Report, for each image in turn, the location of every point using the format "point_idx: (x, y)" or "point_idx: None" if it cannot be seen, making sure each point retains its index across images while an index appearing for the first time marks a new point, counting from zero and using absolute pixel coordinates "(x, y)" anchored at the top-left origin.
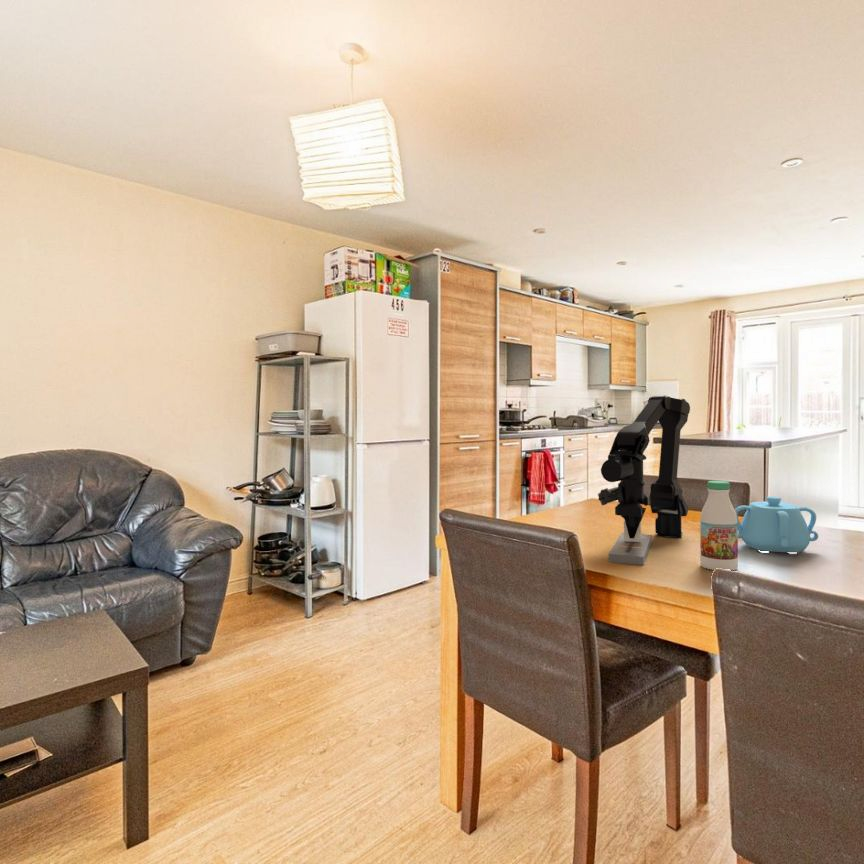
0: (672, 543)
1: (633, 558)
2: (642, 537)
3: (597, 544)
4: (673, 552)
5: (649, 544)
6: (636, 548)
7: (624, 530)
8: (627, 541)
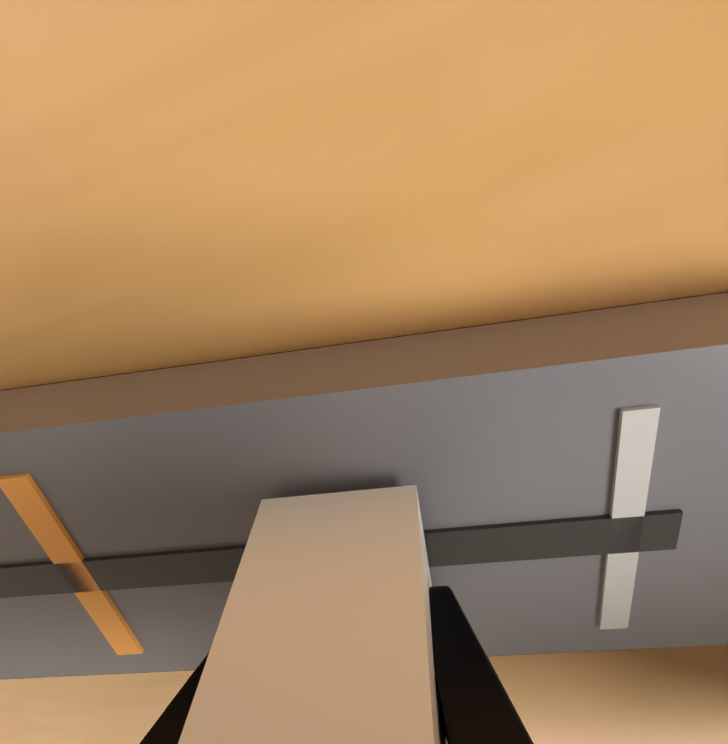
0: (712, 676)
1: None
2: (603, 598)
3: (381, 19)
4: None
5: None
6: (90, 620)
7: (219, 648)
8: None
